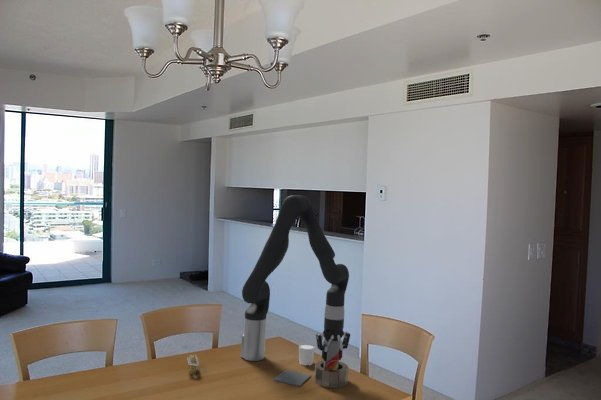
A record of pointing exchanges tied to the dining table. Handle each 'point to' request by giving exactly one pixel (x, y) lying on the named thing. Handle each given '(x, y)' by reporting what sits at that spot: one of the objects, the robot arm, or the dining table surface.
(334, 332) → the lotion bottle
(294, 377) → the rubber mat
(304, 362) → the white cylinder
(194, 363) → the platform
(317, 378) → the collar
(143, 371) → the dining table surface
